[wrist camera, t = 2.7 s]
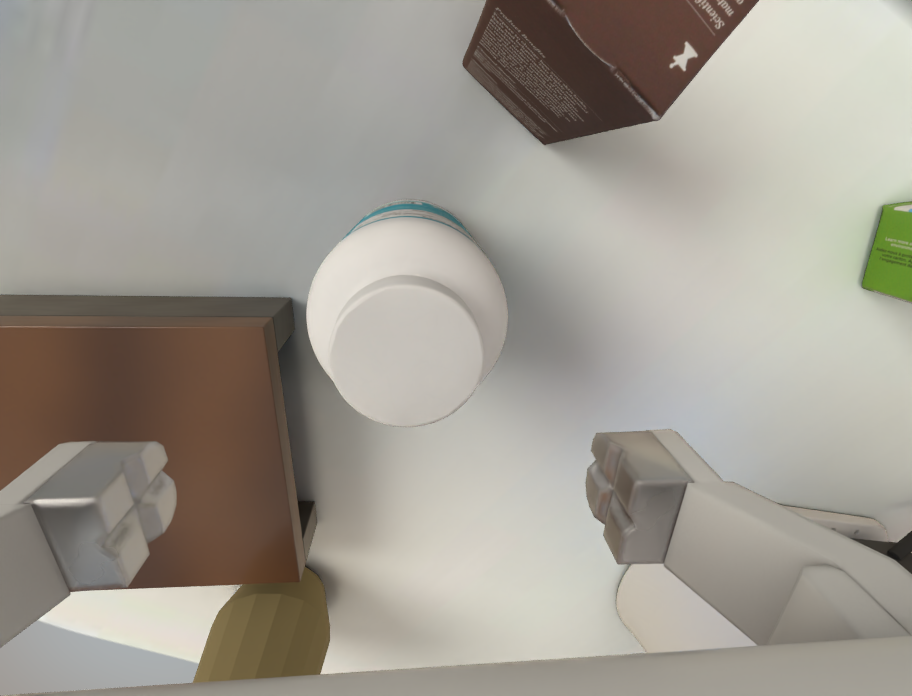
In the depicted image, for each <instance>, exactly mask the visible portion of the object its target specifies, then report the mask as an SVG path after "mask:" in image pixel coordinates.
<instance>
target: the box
mask: <svg viewBox="0 0 912 696" xmlns="http://www.w3.org/2000/svg"><path fill="white" fill-rule="evenodd" d="M758 1H759V0H486V3H485V6H484V8H483V11H482V14H481V16H480V19H479V22H478V24H477V27H476V29H475V32H474V34H473V37H472V40H471V42H470V44H469V47H468V49H467V51H466V54H465V56H464V59H463V66H464V68H465V69H466V70H467V71H468V72H469V73H470V74H471V75H472V76H473V77H474V78H475V79H476V80H477V81H478V82H479V83H480V84H481V85H482V86H483V87H484V88H485V89H486V90H488V91H489V92H490V93H491V94H492V95H493V96H494V97H495V98H496V99H497V100H498V101H499V102H500V103H501V104H502V105H503V106H504V107H505V108H506V109H507V110H508V111H509V112H510V113H511V114H512V115H513V116H514V117H515V118H516V119H517V120H518V121H519V122H521V123H522V124H523V125H524V126H525V127H526V128H527V129H528V130H529V131H530V132H531V133H532V134H533V135H534V136H535V137H536V138H537V139H539V140H540V141H541V142H542V143H543V144H544V145H546V144H550V143H555V142H559V141H565V140H569V139H573V138H578V137H583V136H587V135H592V134H596V133H601V132H606V131H609V130H615V129H620V128H623V127H629V126H633V125H637V124H642V123H647V122H652V121H658V120H660V119H661V117H662V116H663V115H664V113H665V112H666V111H667V110H668V108H669V107H670V106H671V105H672V104H673V103H674V101H675V100H676V99H677V98H678V96H679V95H680V94H681V93H682V91H683V90H684V89H685V88H686V87H687V85H688V84H689V83H690V82H691V81H692V79H693V78H694V77H695V76H696V75H697V73H698V72H699V71H700V70H701V68H702V67H703V66H704V65H705V63H706V62H707V61H708V60H709V59H710V57H711V56H712V55H713V54H714V53H715V52H716V50H717V49H718V48H719V47H720V46H721V44H722V43H723V42H724V41H725V40H726V39H727V37H728V36H729V35H730V34H731V33H732V32H733V30H734V29H735V28H736V27H737V26H738V25H739V24H740V22H741V21H742V20H743V19H744V18H745V16H746V15H747V14H748V13H749V12H750V10H751V9H752V8H753V7H754V6H755V5H756V3H757V2H758Z"/></svg>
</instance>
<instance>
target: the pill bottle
mask: <svg viewBox="0 0 912 696" xmlns="http://www.w3.org/2000/svg"><path fill="white" fill-rule="evenodd" d="M306 318H307V328H308V334H309V338H310V342H311V345H312V348H313V350H314V353H315V355H316V357H317V359H318V361H319V363H320V364H321V366H322V367H323V369H324V370H325V372H326V373H327V374H328V375H329V377H330V378H331V379H332V380H333V381H334V384H335V386H336V388H337V389H338V391H339V392H340V394H341V395H342V397H343V398H344V399H345V400H346V401H347V403H348V404H350V405H351V406H352V407H353V408H354V409H355V410H357V411H358V412H359V413H361V414H362V415H364V416H366V417H368V418H369V419H371V420H374V421H376V422H379V423H382V424H386V425H390V426H397V427H415V426H422V425H427V424H431V423H434V422H437V421H439V420H441V419H443V418H445V417H447V416H449V415H451V414H452V413H454V412H455V411H457V410H458V409H459V408H460V407H461V406H462V405H463V404H464V403H465V402H466V401H467V400H468V399H469V398H470V396H471V395H472V394H473V392H474V391H475V389H476V387H477V386H478V385H479V384H480V383H481V382H482V381H483V380H484V379H485V377H486V376H487V375H488V374H489V372H490V371H491V370H492V368H493V367H494V365H495V363H496V362H497V359H498V357H499V356H500V353H501V351H502V348H503V345H504V341H505V338H506V332H507V325H508V310H507V301H506V296H505V292H504V288H503V286H502V283H501V280H500V278H499V276H498V274H497V272H496V270H495V268H494V267H493V265H492V264H491V262H490V261H489V259H488V258H487V256H486V255H485V254H484V252H483V251H482V250H481V248H480V247H479V246H478V244H477V243H476V242H475V240H474V239H473V238H472V236H471V235H470V234H469V233H468V231H467V230H466V229H465V227H464V226H463V225H462V224H461V223H460V222H459V221H458V219H457V218H455V217H454V216H453V215H452V214H451V213H449V212H448V211H446V210H445V209H443V208H441V207H439V206H437V205H435V204H432V203H429V202H426V201H421V200H412V199H405V200H397V201H393V202H389V203H386V204H384V205H381V206H379V207H377V208H376V209H374V210H372V211H371V212H370V213H368V214H367V215H366V216H365V217H364V218H363V219H362V220H361V221H360V222H359V223H358V224H357V225H356V226H355V227H354V228H353V229H352V230H351V231H350V232H349V233H348V234H347V235H346V236H345V237H344V238H343V239H342V240H341V241H340V242H339V243H338V244H337V245H336V246H335V248H334V249H333V250H332V251H331V252H330V253H329V254H328V256H327V257H326V258H325V260H324V261H323V263H322V264H321V266H320V267H319V269H318V271H317V273H316V275H315V277H314V279H313V282H312V285H311V288H310V291H309V296H308V302H307V313H306Z"/></svg>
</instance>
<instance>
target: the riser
mask: <svg viewBox="0 0 912 696" xmlns="http://www.w3.org/2000/svg"><path fill="white" fill-rule="evenodd" d="M294 330H295V326H294V318H293V309H292V300H291V298H274V297H170V296H66V295H0V491H1V490H2V489H3V488H5V487H6V486H7V485H8V484H10V483H11V482H12V481H13V480H15V479H16V478H17V477H18V476H20V475H21V474H22V473H23V472H25V471H26V470H27V469H28V468H30V467H31V466H32V465H33V464H35V463H36V462H37V461H38V460H40V459H41V458H42V457H43V456H45V455H46V454H47V453H48V452H50V451H51V450H52V449H53V448H55V447H56V446H57V445H58V444H62V443H67V442H81V441H95V442H98V441H156V442H158V443H160V444H162V445H163V446H164V449H165V452H166V455H167V458H168V462H167V463H166V465H165V467H164V468H163V470H162V471H163V472H164V473H166V474H167V475H168V476H169V477H170V478H171V479H173V480H174V483H175V487H176V492H177V504H176V508H175V511H174V515H173V518H172V521H171V522H170V524H169V526H168V527H167V529H166V530H165V532H164V533H163V534H162V535H160V536H159V537H157V538H156V539H154V540H153V541H151V542H150V543H148V548H149V552H150V555H149V556H148V557H147V559H146V560H145V562H144V563H143V565H142V566H141V568H140V569H139V571H138V572H137V574H136V575H135V577H134V578H133V580H132V581H131V583H130V584H129V586H128V587H127V588H115V589H138V588H164V587H189V586H214V585H239V584H265V583H290V582H300V581H301V578H302V574H303V571H304V567H305V564H306V560H307V557H308V553H309V550H310V546H311V543H312V539H313V536H314V532H315V529H316V525H317V517H316V508H315V502H297V494H296V487H295V479H294V472H293V465H292V457H291V450H290V442H289V435H288V427H287V420H286V413H285V405H284V398H283V390H282V383H281V375H280V368H279V361H278V353H277V352H278V351H279V350H280V349H281V347H282V346H283V345H284V343H285V342H286V341H287V339H288V338H289V337H290V335H291V334H292V332H293V331H294ZM102 590H113V589H102Z"/></svg>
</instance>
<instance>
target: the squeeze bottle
mask: <svg viewBox="0 0 912 696" xmlns="http://www.w3.org/2000/svg"><path fill="white" fill-rule="evenodd" d="M329 642H330V624H329V617H328V611H327V604H326V597H325V590H324V585H323V583H322V582H321V580H320V578H319V577H318V575H316V574H315V573H313V572H312V571H311V570H309V569H308V568H306V567H304V571H303V574H302V578H301V581H300V582H290V583H265V584H243V585H242V586H241V587H240V588H239V589H238V590H237V592H236V593H235V594H234V595H233V596H232V597H231V598H230V599H229V601H228V602H227V603H226V604H225V605H224V606H223V607H222V608H221V610H220V611H219V612H218V614H217V616H216V619H215V621H214V623H213V625H212V627H211V630H210V633H209V636H208V639H207V642H206V645H205V648H204V651H203V654H202V657H201V660H200V663H199V666H198V669H197V672H196V675H195V678H194V681H193V683H198V682H213V681H229V680H244V679H259V678H275V677H290V676H305V675H320V673H321V669H322V666H323V663H324V659H325V656H326V652H327V649H328V646H329Z"/></svg>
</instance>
